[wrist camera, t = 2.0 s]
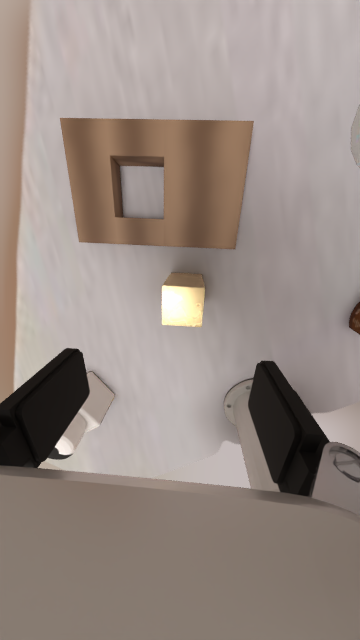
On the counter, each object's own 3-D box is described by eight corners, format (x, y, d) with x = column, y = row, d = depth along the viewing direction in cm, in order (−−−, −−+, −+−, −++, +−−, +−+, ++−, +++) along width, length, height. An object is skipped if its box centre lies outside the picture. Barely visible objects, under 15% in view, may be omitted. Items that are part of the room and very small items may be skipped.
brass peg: (201, 274, 28) (205, 287, 20) (199, 303, 30) (201, 327, 21) (171, 272, 28) (162, 285, 20) (170, 301, 30) (162, 324, 21)
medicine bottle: (91, 407, 40) (52, 471, 29) (67, 385, 38) (15, 443, 27) (116, 394, 38) (84, 457, 27) (92, 370, 36) (47, 426, 25)
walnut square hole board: (245, 136, 21) (253, 120, 19) (230, 248, 26) (235, 249, 23) (76, 133, 22) (59, 117, 20) (90, 242, 27) (79, 242, 24)
